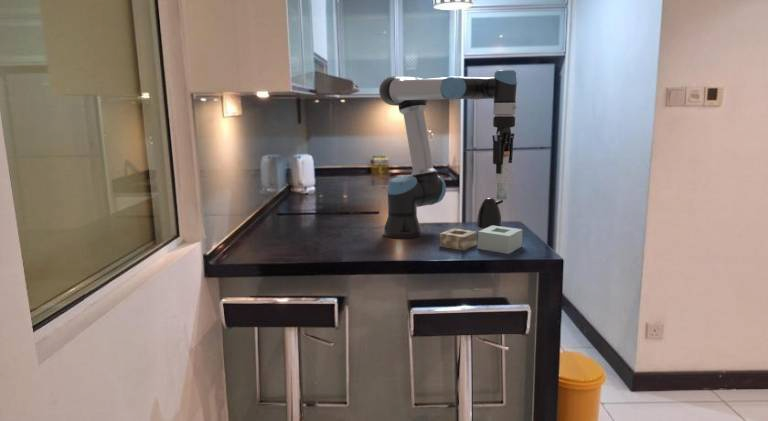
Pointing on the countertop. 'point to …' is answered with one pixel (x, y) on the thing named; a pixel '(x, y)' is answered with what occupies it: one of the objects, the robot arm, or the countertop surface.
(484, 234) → the dock
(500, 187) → the pin
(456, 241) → the block
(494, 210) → the pump dispenser
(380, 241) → the countertop surface
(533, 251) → the countertop surface
